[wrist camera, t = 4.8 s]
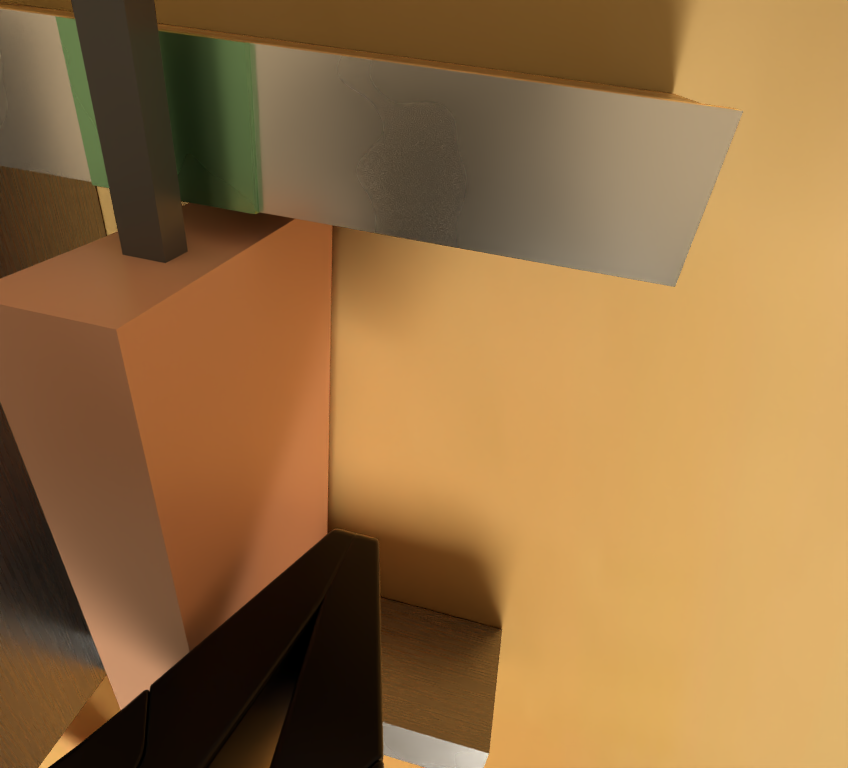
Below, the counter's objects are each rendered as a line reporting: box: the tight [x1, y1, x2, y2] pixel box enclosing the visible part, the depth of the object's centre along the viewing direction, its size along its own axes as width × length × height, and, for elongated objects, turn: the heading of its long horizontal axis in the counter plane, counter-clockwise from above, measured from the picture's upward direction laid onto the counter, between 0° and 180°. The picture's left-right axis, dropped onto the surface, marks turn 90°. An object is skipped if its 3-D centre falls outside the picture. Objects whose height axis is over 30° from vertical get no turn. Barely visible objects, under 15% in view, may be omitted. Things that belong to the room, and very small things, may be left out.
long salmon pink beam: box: [0, 0, 332, 710], centre depth 9 cm, size 2×12×5 cm, turn 174°
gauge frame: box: [0, 2, 743, 768], centre depth 9 cm, size 11×14×6 cm
